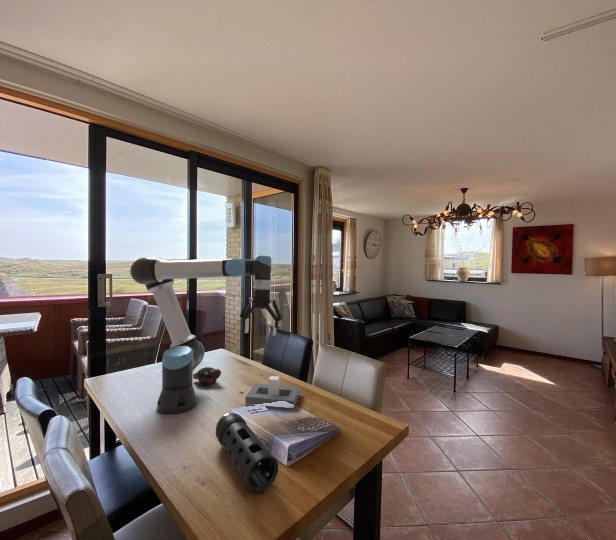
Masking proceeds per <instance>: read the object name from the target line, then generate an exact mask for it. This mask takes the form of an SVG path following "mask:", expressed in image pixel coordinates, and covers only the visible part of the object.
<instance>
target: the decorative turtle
mask: <svg viewBox="0 0 616 540" xmlns="http://www.w3.org/2000/svg"><path fill="white" fill-rule="evenodd" d="M221 375H222V371H221V369H220V368H213V367H210V366H209V367H207V366H206V367H203V368H200V369H199V370H198V371H197V372H195V373H193V379H194V380H197V381H198V384H199V385H201V386H203V385H204V384H206V385H207V386H208V387H211V385H212V384H213V383H216V382H217V379H219V378H220V377H221Z"/></svg>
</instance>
